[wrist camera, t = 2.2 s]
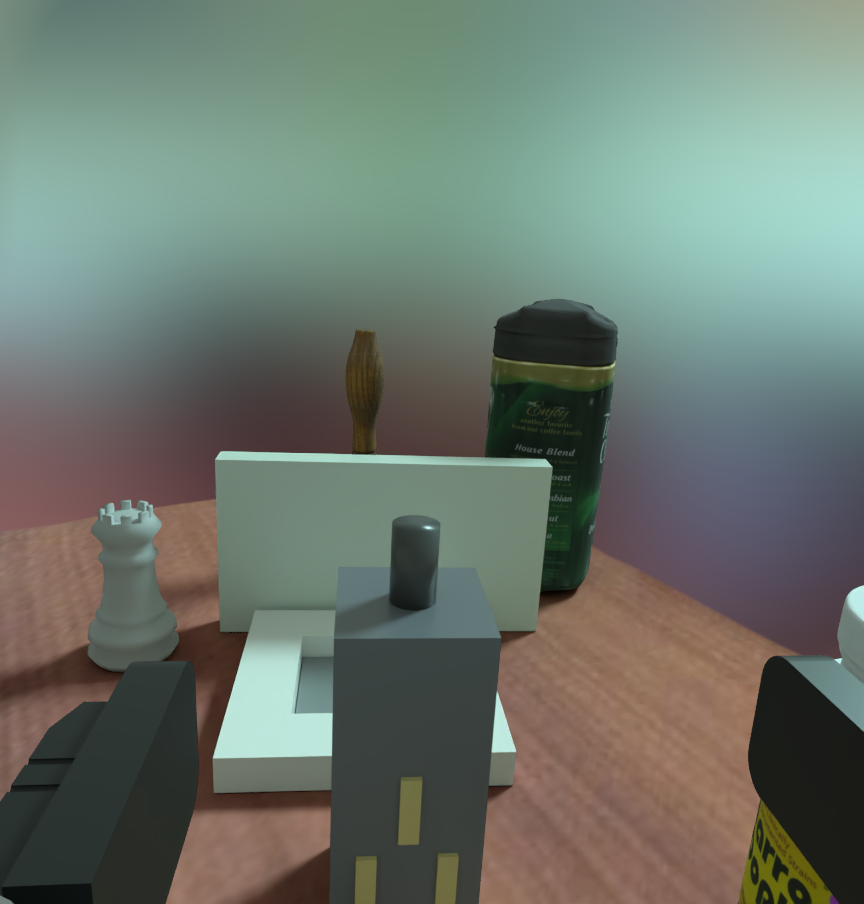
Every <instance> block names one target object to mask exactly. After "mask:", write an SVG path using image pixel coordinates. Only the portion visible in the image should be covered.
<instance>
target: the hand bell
mask: <svg viewBox="0 0 864 904" xmlns="http://www.w3.org/2000/svg"><path fill="white" fill-rule="evenodd" d="M383 389H384V365H383V360H382V356H381V352H380V349H379V346H378V343H377V338H376V332H375V330H372V329H357V330H356V333H355V337H354V341H353V345H352V348H351V350H350V353H349V356H348V360H347V366H346V391H347V399H348V403H349V407H350V410H351V413H352V418H353V443H352V449H353V451H352V454H353V455H376V451H375V450H376V419H377V415H378V411H379V408H380V405H381V402H382V396H383Z"/></svg>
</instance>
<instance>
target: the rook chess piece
mask: <svg viewBox="0 0 864 904" xmlns="http://www.w3.org/2000/svg"><path fill="white" fill-rule="evenodd" d="M120 502H121V509H120V510H115V511H114V504H112V503H108V504H106V505H103V509H98V517H99V518H98V520H97V521H96V522H95V524H94V525H93V526H92V528H91V533H92V534H93V535H94V536H95V537H96V538H97V539H98V540H99V541H100V542H101V543H102V546H103V551H102V552H101V553H100V554H99V556H98V560H99V561H100V562H101V563H102V564H103V569H104V584H103V596H102V601H101V605H100V607H99V609H98V610H97V611H96V618H95V619H94V621H93V622H92V623H91V624H90V627H89V632H88V640H89V641H90V642H91V644H90V645H89V646H88V656H89V657H90V658H91V659H92V660H93V661H94V662H95V663H96V664H97V665H98V666H100V667H101V668H103V669H106V670H109V671H112V672H125V671H126V669H127V667H128V666H129V664H130V663H131V662H135V661H164V660H165V659H167V658H168V657H169V656H170V654H171V653H172V652H173V650H174V649H175V647H176V646H177V644H178V643H179V636H178V633H177V632H176V631H175V629H176V628H177V622H176V618H175V615H174V613H173V612H172V611H171V610H169V609H168V608H167V602H166V601H165V600H163V599H162V596H161V594H160V591H159V587H158V582H157V577H156V573H155V562H154V559H155V558H156V556H157V555H158V549H157V548H156V547H154V546H153V538H154V536H155V535H156V533H157V532H158V531H159V529H160V528H161V526H162V525H161V521H160V520H159V519H158V518H157V517H156V516H155V515H154V514H153V506H152V505H148V502H145V501H139V502H137V507H138V509H132V508H131V500H124V501H120Z"/></svg>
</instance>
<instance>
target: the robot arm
mask: <svg viewBox="0 0 864 904" xmlns="http://www.w3.org/2000/svg"><path fill="white" fill-rule="evenodd" d="M748 762H749V770H750V774H751V778H752V781H753V784H754V787H755V789H756V791H757V793H758V795H759V797H760V798H761V800H762V801H763V802H764V804H765V805H766V806H767V808H768V809H769V810H770V812H771V813H772V814H773V816H774V817H775V818H776V820H777V821H778V823H779V824H780V825H781V827H782V828H783V829H784V831H785V832H786V833H787V835H788V836H789V837H790V839H791V840H792V841H793V843H794V844H795V845H796V847H797V848H798V849H799V851H800V852H801V853H802V855H803V856H804V857H805V859H806V860H807V861H808V863H809V864H810V865H811V867H812V868H813V869H814V871H815V872H816V873H817V875H818V876H819V877H820V879H821V880H822V881H823V883H824V884H825V885H826V887H827V888H828V889H829V891H830V892H831V893H832V895H833V896H834V897H835V899H836V900H837V901H838V903H839V904H864V684H863V683H862V682H861V681H859V680H858V679H857V678H856V677H855V676H853V675H852V674H851V673H850V672H849V671H847V670H846V669H845V668H844V667H843V666H841V665H840V664H839V663H838V662H837V661H835V660H834V659H832V658H831V657H829V656H824V655H811V656H773V657H771V658H770V659H769V660H768V661H767V662H766V664H765V666H764V668H763V672H762V677H761V683H760V688H759V694H758V699H757V705H756V710H755V716H754V721H753V727H752V733H751V738H750V744H749V750H748ZM198 769H199V760H198V736H197V712H196V688H195V672H194V667H193V664H192V662H191V661H135V662H131V663H130V664H129V666H128V667H127V669H126V671H125V672H124V674H123V676H122V678H121V679H120V681H119V683H118V685H117V686H116V688H115V690H114V692H113V693H112V695H111V697H110V699H109V700H108V702H83V703H82V704H80V705H79V706H78V707H77V708H75V709H74V710H73V711H71V712H70V713H69V714H67V715H66V716H65V717H63V718H62V719H61V720H59V721H58V722H57V723H55V724H54V725H53V726H51V727H50V728H49V729H48V731H47V732H46V734H45V735H44V737H43V738H42V740H41V741H40V743H39V744H38V746H37V747H36V749H35V750H34V752H33V753H32V755H31V756H30V758H29V763H28V765H24V767H23V768H22V770H21V771H20V773H19V774H18V776H17V777H16V779H15V780H14V782H13V783H12V785H11V791H10V792H7V793H6V794H5V796H4V797H3V799H2V800H1V802H0V904H166V900H167V897H168V894H169V890H170V887H171V884H172V880H173V877H174V874H175V870H176V867H177V864H178V861H179V857H180V854H181V851H182V847H183V844H184V841H185V837H186V834H187V831H188V827H189V824H190V821H191V818H192V814H193V810H194V805H195V800H196V793H197V785H198Z"/></svg>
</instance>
